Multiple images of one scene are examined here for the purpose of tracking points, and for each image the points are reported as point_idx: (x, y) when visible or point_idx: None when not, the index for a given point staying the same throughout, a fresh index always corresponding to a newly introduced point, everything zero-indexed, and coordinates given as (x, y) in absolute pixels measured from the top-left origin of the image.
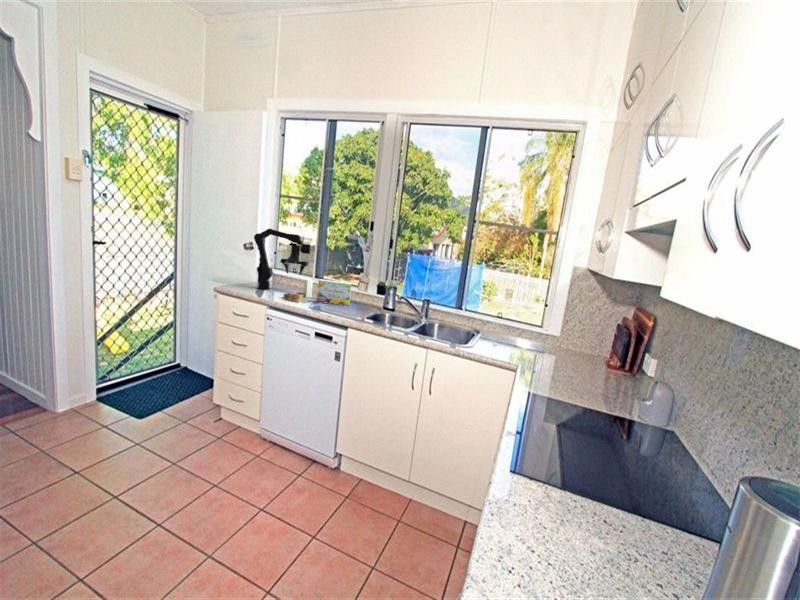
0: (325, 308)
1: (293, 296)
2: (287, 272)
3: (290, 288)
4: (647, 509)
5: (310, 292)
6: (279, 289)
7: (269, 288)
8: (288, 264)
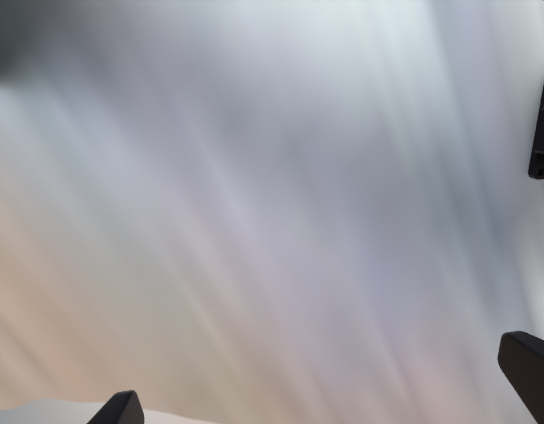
0: None
1: None
2: (528, 350)
3: (365, 352)
4: None
5: None
6: (433, 230)
7: (531, 168)
8: None
